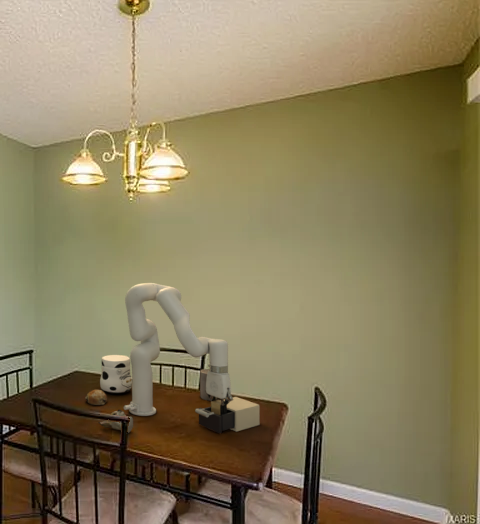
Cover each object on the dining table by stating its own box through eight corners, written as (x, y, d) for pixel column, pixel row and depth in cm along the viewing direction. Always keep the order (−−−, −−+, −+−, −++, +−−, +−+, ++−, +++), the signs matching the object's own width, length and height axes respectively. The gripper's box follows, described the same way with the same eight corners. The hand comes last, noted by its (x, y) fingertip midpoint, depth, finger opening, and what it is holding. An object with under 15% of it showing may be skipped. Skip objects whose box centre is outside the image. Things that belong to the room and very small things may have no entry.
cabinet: (236, 431, 176) (236, 410, 176) (212, 421, 187) (212, 402, 186) (259, 424, 183) (259, 404, 183) (235, 415, 194) (235, 396, 194)
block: (219, 415, 176) (219, 404, 176) (211, 411, 180) (211, 401, 180) (226, 413, 179) (226, 402, 179) (218, 410, 182) (218, 399, 182)
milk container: (133, 396, 222) (133, 361, 222) (100, 396, 222) (100, 361, 222) (130, 386, 239) (130, 354, 239) (99, 386, 240) (99, 354, 240)
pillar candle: (223, 397, 219) (223, 368, 219) (214, 402, 212) (214, 372, 212) (205, 393, 226) (205, 365, 225) (196, 398, 218) (196, 369, 218)
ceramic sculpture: (122, 416, 169) (96, 408, 180) (123, 438, 169) (97, 429, 180) (140, 410, 176) (113, 403, 188) (141, 431, 176) (114, 423, 187)
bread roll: (96, 413, 207) (102, 400, 205) (80, 401, 212) (86, 387, 210) (106, 407, 215) (112, 394, 213) (90, 395, 220) (96, 383, 218)
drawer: (211, 435, 169) (211, 415, 169) (190, 426, 179) (190, 406, 179) (242, 426, 178) (242, 407, 178) (220, 418, 188) (220, 399, 188)
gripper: (197, 365, 185) (197, 407, 185) (228, 374, 170) (228, 420, 170) (209, 363, 189) (209, 404, 189) (241, 372, 174) (241, 416, 174)
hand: (218, 411), depth 179 cm, fingers closed on block, 4 cm apart
